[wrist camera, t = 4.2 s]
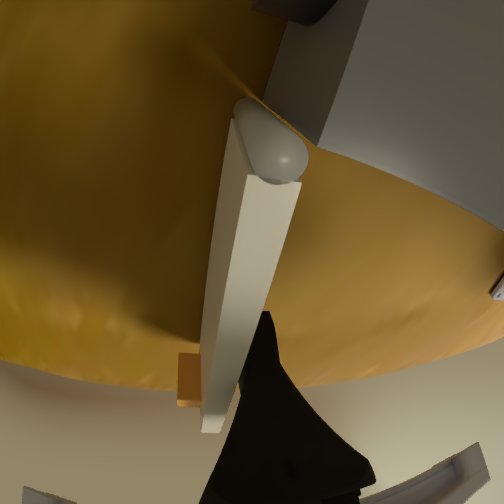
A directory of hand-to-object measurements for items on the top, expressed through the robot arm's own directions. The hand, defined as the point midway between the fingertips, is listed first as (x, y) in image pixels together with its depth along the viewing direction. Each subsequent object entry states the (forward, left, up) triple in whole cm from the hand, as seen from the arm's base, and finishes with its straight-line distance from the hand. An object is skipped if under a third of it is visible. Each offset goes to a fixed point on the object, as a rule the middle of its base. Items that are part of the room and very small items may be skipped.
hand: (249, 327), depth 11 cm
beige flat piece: (+2, -2, -1) cm, 3 cm away
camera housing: (-5, -12, -2) cm, 13 cm away
